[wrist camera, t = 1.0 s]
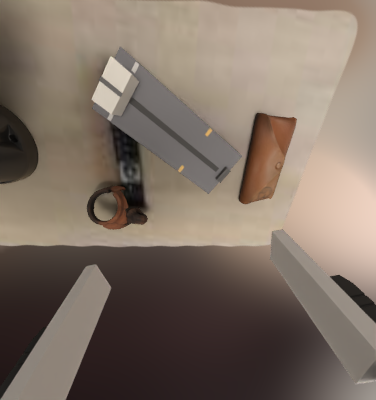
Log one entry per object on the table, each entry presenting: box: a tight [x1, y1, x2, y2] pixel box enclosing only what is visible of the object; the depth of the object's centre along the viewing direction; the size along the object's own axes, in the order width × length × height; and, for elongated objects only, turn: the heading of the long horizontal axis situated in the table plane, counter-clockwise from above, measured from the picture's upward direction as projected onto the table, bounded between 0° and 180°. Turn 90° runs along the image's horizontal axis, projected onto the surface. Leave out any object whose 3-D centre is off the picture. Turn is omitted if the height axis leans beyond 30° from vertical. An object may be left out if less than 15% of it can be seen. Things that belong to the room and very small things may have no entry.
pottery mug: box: [87, 186, 148, 229], centre depth 34 cm, size 12×10×8 cm
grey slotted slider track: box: [92, 47, 242, 194], centre depth 29 cm, size 26×10×3 cm, turn 52°
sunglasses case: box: [239, 113, 297, 204], centre depth 32 cm, size 18×7×7 cm
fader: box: [91, 56, 139, 116], centre depth 23 cm, size 3×6×4 cm, turn 142°
